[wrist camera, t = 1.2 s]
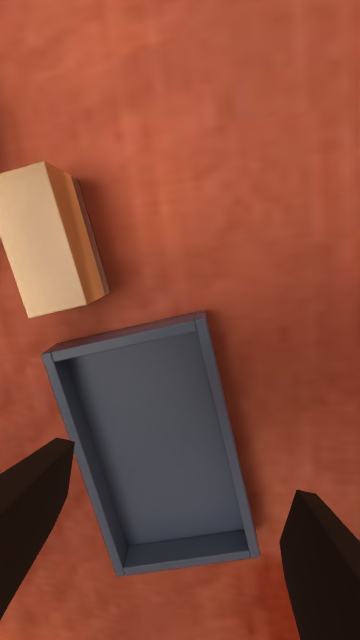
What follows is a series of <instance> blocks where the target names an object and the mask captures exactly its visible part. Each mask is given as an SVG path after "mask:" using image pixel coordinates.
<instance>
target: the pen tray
mask: <svg viewBox="0 0 360 640" xmlns="http://www.w3.org/2000/svg"><path fill="white" fill-rule="evenodd" d="M41 356H42V359H43V362H44V365H45V368H46V371H47V374H48V377H49V380H50V383H51V386H52V389H53V392H54V394H55V397H56V400H57V403H58V406H59V409H60V412H61V415H62V418H63V421H64V424H65V427H66V430H67V433H68V436H69V438H70V441H74V442H75V446H74V453H75V456H76V459H77V462H78V465H79V468H80V471H81V474H82V477H83V479H84V482H85V485H86V488H87V491H88V494H89V497H90V500H91V503H92V506H93V509H94V512H95V515H96V518H97V520H98V523H99V526H100V529H101V532H102V535H103V538H104V541H105V544H106V547H107V550H108V553H109V556H110V559H111V562H112V564H113V567H114V570H115V573H116V576H117V577H118V576H124V575H134V574H141V573H148V572H155V571H163V570H170V569H177V568H185V567H192V566H199V565H206V564H214V563H221V562H228V561H235V560H243V559H250V558H256V557H260V551H259V545H258V540H257V535H256V529H255V525H254V521H253V516H252V512H251V508H250V503H249V499H248V495H247V490H246V486H245V481H244V477H243V473H242V468H241V464H240V460H239V455H238V451H237V447H236V442H235V438H234V434H233V429H232V425H231V421H230V416H229V412H228V407H227V403H226V399H225V394H224V390H223V386H222V381H221V377H220V373H219V368H218V364H217V360H216V355H215V351H214V347H213V342H212V338H211V333H210V329H209V325H208V320H207V316H206V312H205V311H199V312H195V313H191V314H186V315H182V316H177V317H173V318H168V319H164V320H159V321H155V322H150V323H146V324H142V325H137V326H133V327H128V328H124V329H119V330H115V331H110V332H106V333H101V334H97V335H92V336H88V337H84V338H79V339H75V340H70V341H66V342H61V343H57V344H55V345H54V346H53V347H51V348H50V349H48V350H47V351H45V352H44V353H42V354H41Z"/></svg>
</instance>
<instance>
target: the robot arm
mask: <svg viewBox="0 0 360 640" xmlns="http://www.w3.org/2000/svg"><path fill="white" fill-rule="evenodd" d="M74 446H75V442H74V441H70V440H65V439H60V438H55V439H54V440H52V441H51V442H49V443H47V444H46V445H44V446H43V447H41V448H40V449H38V450H37V451H35V452H34V453H32V454H31V455H29V456H28V457H26V458H25V459H23V460H22V461H20V462H19V463H17V464H15V465H14V466H12V467H11V468H9V469H7V470H6V471H4V472H3V473H1V474H0V620H1V618H2V616H3V614H4V613H5V611H6V609H7V607H8V605H9V603H10V602H11V600H12V598H13V597H14V595H15V593H16V591H17V590H18V588H19V586H20V584H21V583H22V581H23V579H24V578H25V576H26V574H27V572H28V571H29V569H30V567H31V566H32V564H33V562H34V560H35V559H36V557H37V555H38V553H39V552H40V550H41V548H42V546H43V545H44V543H45V541H46V539H47V538H48V536H49V534H50V532H51V531H52V529H53V527H54V525H55V523H56V520H57V518H58V516H59V514H60V511H61V509H62V507H63V505H64V502H65V500H66V498H67V495H68V488H69V481H70V474H71V467H72V460H73V453H74ZM280 549H281V556H282V563H283V570H284V576H285V581H286V585H287V589H288V593H289V597H290V601H291V605H292V609H293V613H294V616H295V620H296V624H297V628H298V632H299V635H300V639H301V640H360V542H359V540H358V539H357V538H356V537H355V536H354V535H353V534H352V533H351V532H350V530H349V529H348V528H347V527H346V526H345V525H344V524H343V523H342V522H341V520H340V519H339V518H338V517H337V516H336V515H335V514H334V513H333V511H332V510H331V509H330V508H329V507H328V506H327V505H326V504H325V503H324V502H323V501H322V500H321V499H320V497H319V496H318V495H317V494H315V493H310V492H305V491H301V490H296V493H295V496H294V499H293V502H292V505H291V509H290V512H289V515H288V518H287V521H286V524H285V527H284V530H283V533H282V536H281V539H280Z"/></svg>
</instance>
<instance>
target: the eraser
mask: <svg viewBox="0 0 360 640" xmlns="http://www.w3.org/2000/svg"><path fill="white" fill-rule="evenodd" d="M0 237H1V240H2V243H3V246H4V249H5V252H6V255H7V257H8V260H9V263H10V266H11V269H12V272H13V275H14V278H15V281H16V284H17V287H18V290H19V293H20V296H21V298H22V301H23V304H24V307H25V310H26V313H27V316H28V318H29V319H30V318H34V317H39V316H43V315H47V314H51V313H56V312H60V311H64V310H68V309H73V308H77V307H81V306H85V305H88V304H90V303H92V302H94V301H96V300H98V299H100V298H101V297H103V296H105V295H107V294H109V293H110V291H109V287H108V284H107V280H106V277H105V273H104V270H103V266H102V263H101V259H100V256H99V252H98V249H97V245H96V242H95V238H94V235H93V231H92V228H91V224H90V221H89V217H88V214H87V210H86V207H85V203H84V200H83V196H82V193H81V189H80V186H79V182H78V180H77V179H76V178H74V177H73V176H71V175H70V174H68V173H66V172H64V171H62V170H60V169H58V168H56V167H54V166H53V165H51V164H49V163H47V162H45V161H41V162H38V163H34V164H31V165H28V166H24V167H21V168H17V169H14V170H10V171H7V172H4V173H0Z"/></svg>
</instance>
